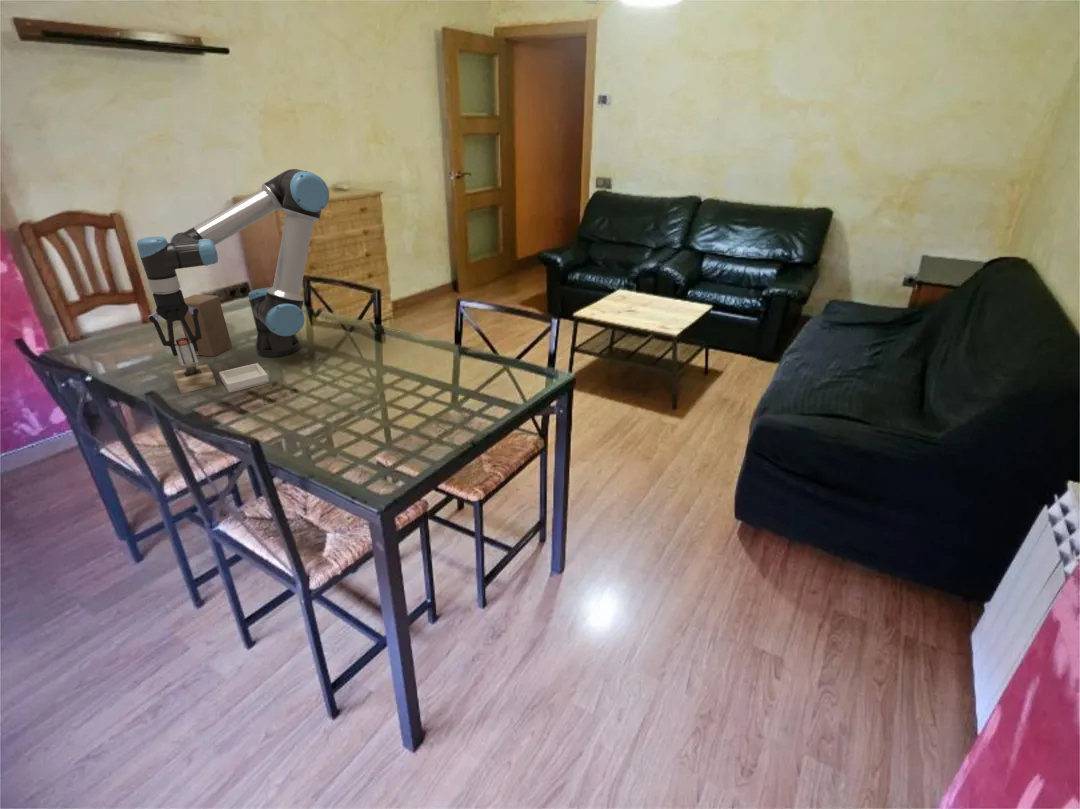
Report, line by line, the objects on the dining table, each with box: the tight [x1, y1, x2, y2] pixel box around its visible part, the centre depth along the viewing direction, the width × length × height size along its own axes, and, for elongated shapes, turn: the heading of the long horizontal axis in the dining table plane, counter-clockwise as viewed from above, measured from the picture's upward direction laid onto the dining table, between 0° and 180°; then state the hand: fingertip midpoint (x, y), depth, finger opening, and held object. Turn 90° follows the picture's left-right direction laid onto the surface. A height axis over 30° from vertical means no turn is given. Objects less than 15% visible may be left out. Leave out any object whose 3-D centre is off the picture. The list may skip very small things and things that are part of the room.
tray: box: [218, 362, 270, 394], centre depth 184 cm, size 12×12×3 cm
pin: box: [175, 337, 198, 376], centre depth 179 cm, size 3×3×12 cm
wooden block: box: [180, 294, 233, 358], centre depth 204 cm, size 10×10×20 cm
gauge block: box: [172, 363, 217, 394], centre depth 182 cm, size 10×10×4 cm
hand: (189, 362), depth 180 cm, fingers closed on pin, 3 cm apart
